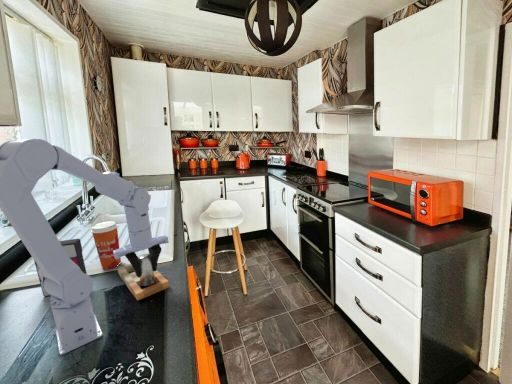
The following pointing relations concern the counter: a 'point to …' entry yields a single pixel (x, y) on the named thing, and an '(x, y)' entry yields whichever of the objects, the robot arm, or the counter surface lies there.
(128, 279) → the wooden slotted board
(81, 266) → the calculator
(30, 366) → the counter surface
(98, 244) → the coffee cup
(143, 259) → the peg
